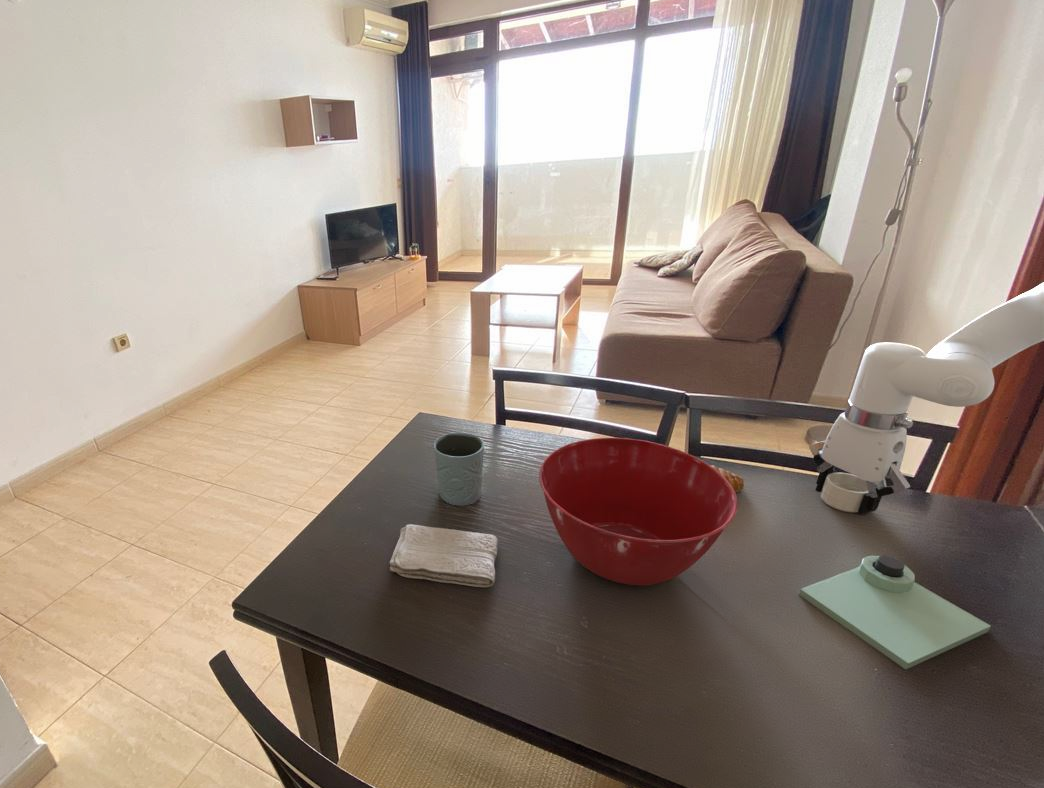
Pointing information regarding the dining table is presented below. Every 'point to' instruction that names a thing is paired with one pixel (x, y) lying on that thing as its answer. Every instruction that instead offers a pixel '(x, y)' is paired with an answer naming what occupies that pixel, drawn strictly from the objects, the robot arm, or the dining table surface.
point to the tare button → (889, 566)
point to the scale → (894, 613)
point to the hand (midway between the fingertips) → (843, 499)
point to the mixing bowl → (635, 507)
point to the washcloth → (445, 556)
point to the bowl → (844, 491)
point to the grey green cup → (459, 467)
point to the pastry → (732, 479)
